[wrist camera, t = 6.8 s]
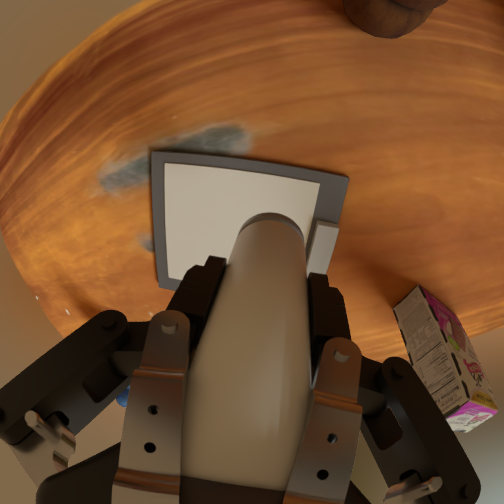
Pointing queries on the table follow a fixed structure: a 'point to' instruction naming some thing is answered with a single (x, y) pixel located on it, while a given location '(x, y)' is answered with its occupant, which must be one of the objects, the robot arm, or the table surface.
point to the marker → (250, 372)
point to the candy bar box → (445, 360)
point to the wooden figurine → (389, 15)
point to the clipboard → (236, 207)
